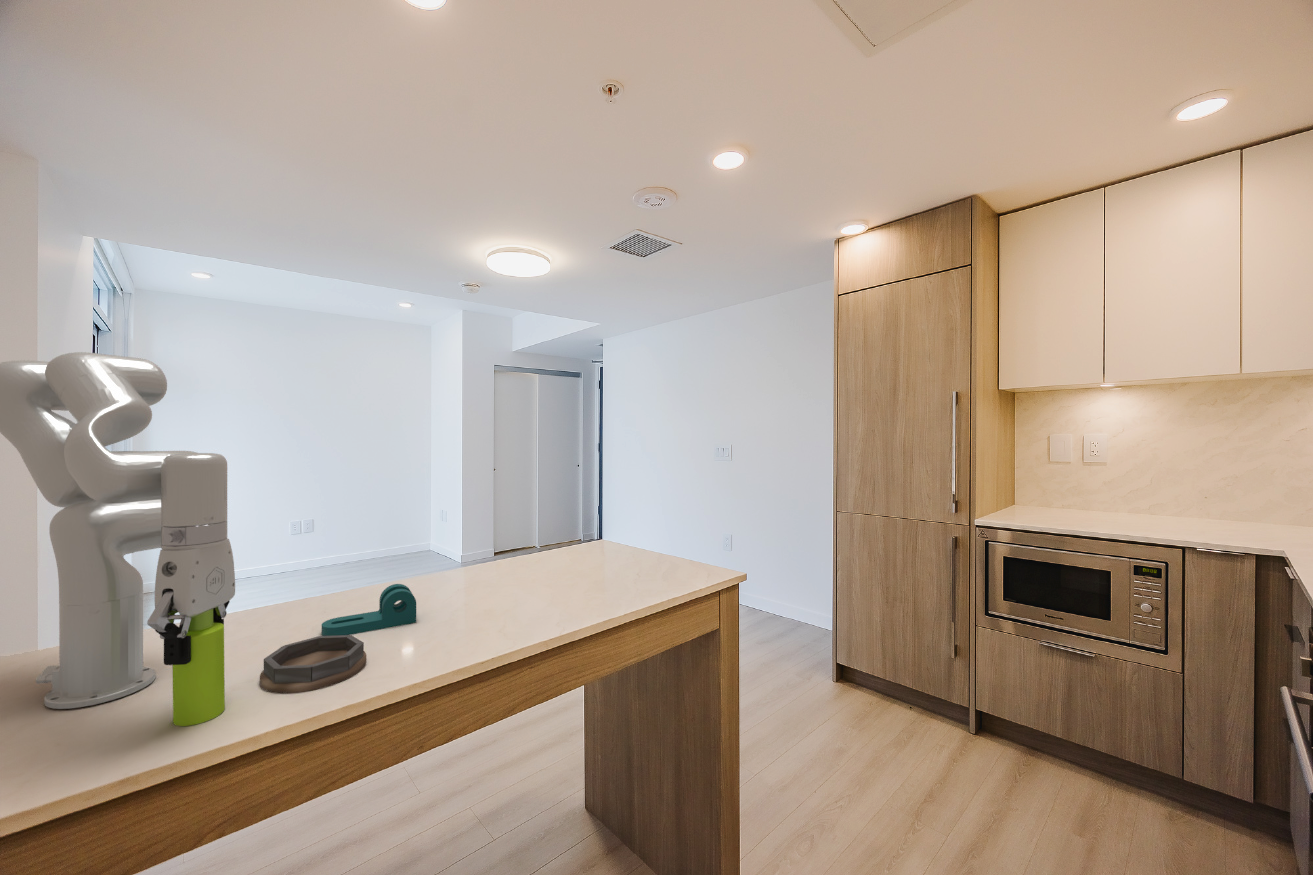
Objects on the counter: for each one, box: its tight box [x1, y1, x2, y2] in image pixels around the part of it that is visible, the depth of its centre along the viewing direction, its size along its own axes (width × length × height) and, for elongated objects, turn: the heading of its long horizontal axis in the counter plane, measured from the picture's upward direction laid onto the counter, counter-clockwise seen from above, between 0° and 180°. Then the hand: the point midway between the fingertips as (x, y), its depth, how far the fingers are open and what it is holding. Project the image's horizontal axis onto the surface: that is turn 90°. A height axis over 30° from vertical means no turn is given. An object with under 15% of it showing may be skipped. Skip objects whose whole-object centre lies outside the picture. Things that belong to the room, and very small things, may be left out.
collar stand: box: [259, 634, 367, 694], centre depth 94 cm, size 16×16×4 cm
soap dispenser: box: [172, 609, 226, 727], centre depth 78 cm, size 6×7×20 cm
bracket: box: [321, 583, 417, 636], centre depth 116 cm, size 18×7×8 cm, turn 124°
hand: (195, 652), depth 79 cm, fingers closed on soap dispenser, 5 cm apart
